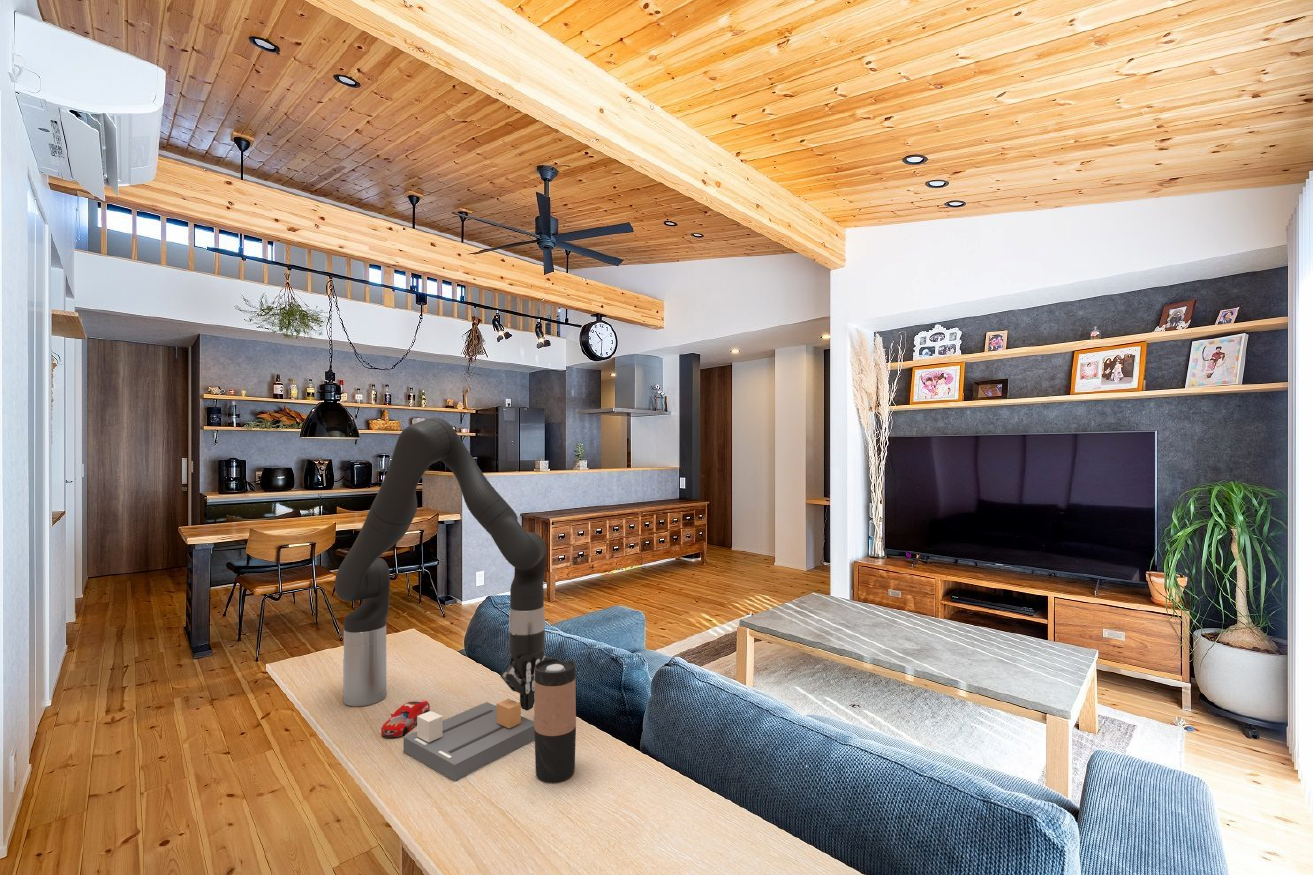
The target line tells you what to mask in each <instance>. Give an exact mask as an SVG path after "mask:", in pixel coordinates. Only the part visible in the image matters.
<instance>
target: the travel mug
mask: <svg viewBox="0 0 1313 875" xmlns="http://www.w3.org/2000/svg"><path fill="white" fill-rule="evenodd" d="M576 692H577V691H576V664H575V662H574V660H571V659H569V660H567V661H562V660H560V659H559V658H557V657H556V658H555V657H551V659H546V660H543V661H540V662H539V663H537V664H536V665H535V691H534V705H533V709H534V715H533V717H534V718H533V719H534V720H533V721H534V735H535V740H534V756H535V757H534V758H535V759H534V760H535V761H534V762H535V775H536V776H535V777H536V778H537V779H538V780H539V781H541V782H543V783H546V784H558V783H563V782H566V781H567V780H569V779H570V778H572V777H573V776H574V773H575V767H576V736H577V735H576V734H577V733H576V732H577V710H576V709H577V708H576V706H577V704H576V699H577V698H576V695H577V694H576Z"/></svg>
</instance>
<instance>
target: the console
mask: <svg viewBox="0 0 1313 875" xmlns="http://www.w3.org/2000/svg"><path fill="white" fill-rule="evenodd" d="M402 737H403V738H402V739H403V742H402V743H403V753H404V754H406V755H408V756H409V757H411V758H413V759H415V760H416V761H418V762H420V763H422V764H423V765H425V766H427V767H428V768H430V769H432V770H434V771H435V772H437V773H439V774H441V775H443V776H444V777H446V778H448V779H449V780H452V781H453V782H456V781H458V780H460V779H462V778H464V777H466V776H468V775H469V774H472V773H473V772H475V771H477V770H480V769H481V768H483V767H485V766H487V765H489V764H490V763H492V762H494V761H497V760H498V759H501V758H502V757H504V756H506V755H508V754H510V753H511V752H514V751H516V750H517V749H520V748H521V747H523V746H525V745H527V744H529V743H531V742H533V741H535V735H534V720H532V719H529V718H527V717H524V716H522V715H521V723H520V724H518V725H516V726H514V727H511V728H507V727H505V726H502V725H500V724H498V723H497V705H495V704H492V703H490V702H488V701H486V702H483V703H481V704H479V705H477V706H474V707H471V708H470V709H467V710H464V711H463V712H460V713H458V714H455V715H453V716H450V717H448V718H445V719H442V737H440V738H438V739H436V740H433V741H431V742H427V741H425V740H423V739H421V738H419V737H417V731H415V732H412V733H410V734H408V735H407V734H406V735H405V736H402Z"/></svg>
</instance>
